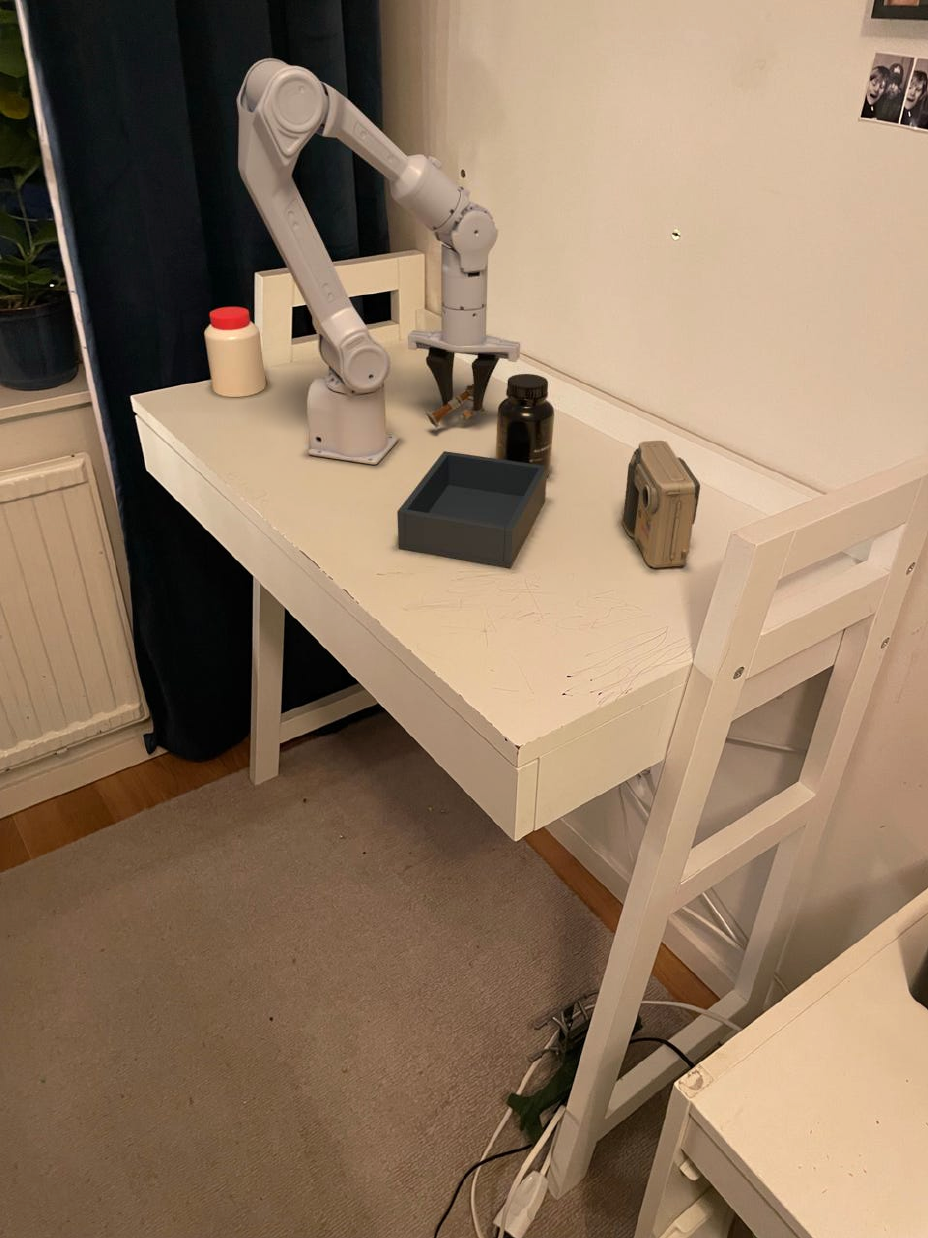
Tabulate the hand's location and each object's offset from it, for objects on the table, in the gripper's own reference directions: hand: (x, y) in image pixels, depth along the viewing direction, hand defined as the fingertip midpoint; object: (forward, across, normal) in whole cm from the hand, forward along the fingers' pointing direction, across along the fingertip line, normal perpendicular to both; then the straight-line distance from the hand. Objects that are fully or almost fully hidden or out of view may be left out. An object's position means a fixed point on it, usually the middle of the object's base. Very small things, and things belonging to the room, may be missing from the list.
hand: (462, 406), depth 125 cm
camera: (+4, -29, +22) cm, 37 cm away
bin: (+3, -9, +24) cm, 26 cm away
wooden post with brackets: (+2, +1, +1) cm, 2 cm away
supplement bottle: (+4, -11, +10) cm, 15 cm away
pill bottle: (+4, +36, -4) cm, 36 cm away
